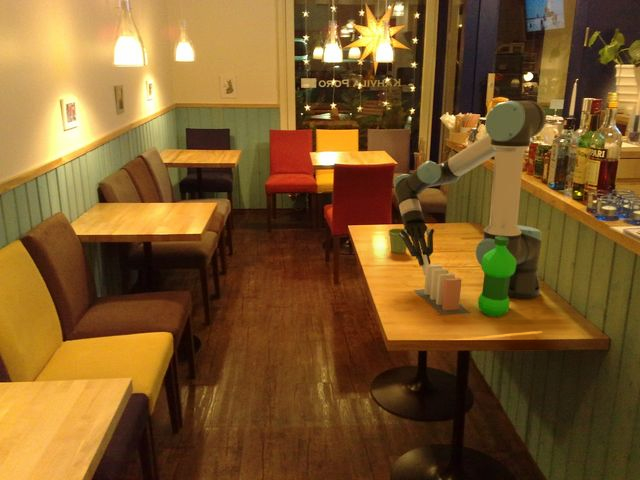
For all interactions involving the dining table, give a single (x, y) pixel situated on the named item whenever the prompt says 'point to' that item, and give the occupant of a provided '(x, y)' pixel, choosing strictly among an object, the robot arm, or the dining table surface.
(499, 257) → the plastic bottle
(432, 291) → the domino
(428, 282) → the domino
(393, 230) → the plant pot
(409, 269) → the dining table surface
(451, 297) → the domino
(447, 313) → the mat
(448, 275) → the domino
